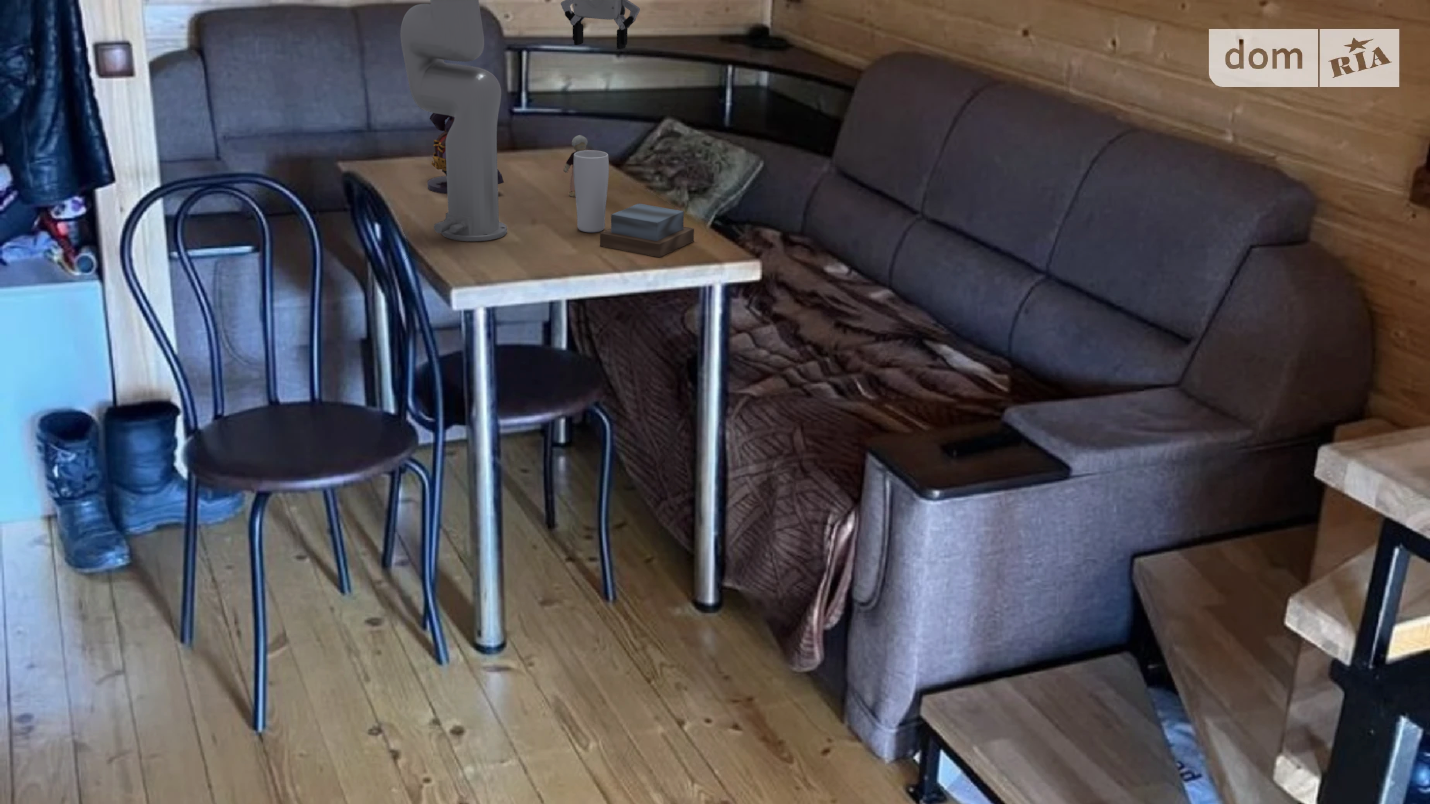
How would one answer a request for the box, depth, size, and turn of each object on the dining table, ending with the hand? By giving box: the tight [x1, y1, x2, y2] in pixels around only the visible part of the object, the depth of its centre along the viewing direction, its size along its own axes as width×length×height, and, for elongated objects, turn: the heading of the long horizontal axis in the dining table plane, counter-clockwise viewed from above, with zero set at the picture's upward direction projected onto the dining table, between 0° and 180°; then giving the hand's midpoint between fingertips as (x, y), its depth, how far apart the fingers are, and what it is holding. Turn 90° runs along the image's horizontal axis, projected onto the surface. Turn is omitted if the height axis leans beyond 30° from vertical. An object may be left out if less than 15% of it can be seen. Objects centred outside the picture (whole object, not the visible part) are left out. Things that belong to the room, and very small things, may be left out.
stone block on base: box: [599, 203, 695, 258], centre depth 273 cm, size 13×13×6 cm
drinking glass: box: [573, 149, 610, 234], centre depth 278 cm, size 7×7×15 cm
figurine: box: [427, 113, 505, 195], centre depth 306 cm, size 20×14×17 cm
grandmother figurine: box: [563, 134, 589, 198], centre depth 304 cm, size 8×4×13 cm, turn 143°
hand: (599, 46), depth 299 cm, fingers open, 9 cm apart
